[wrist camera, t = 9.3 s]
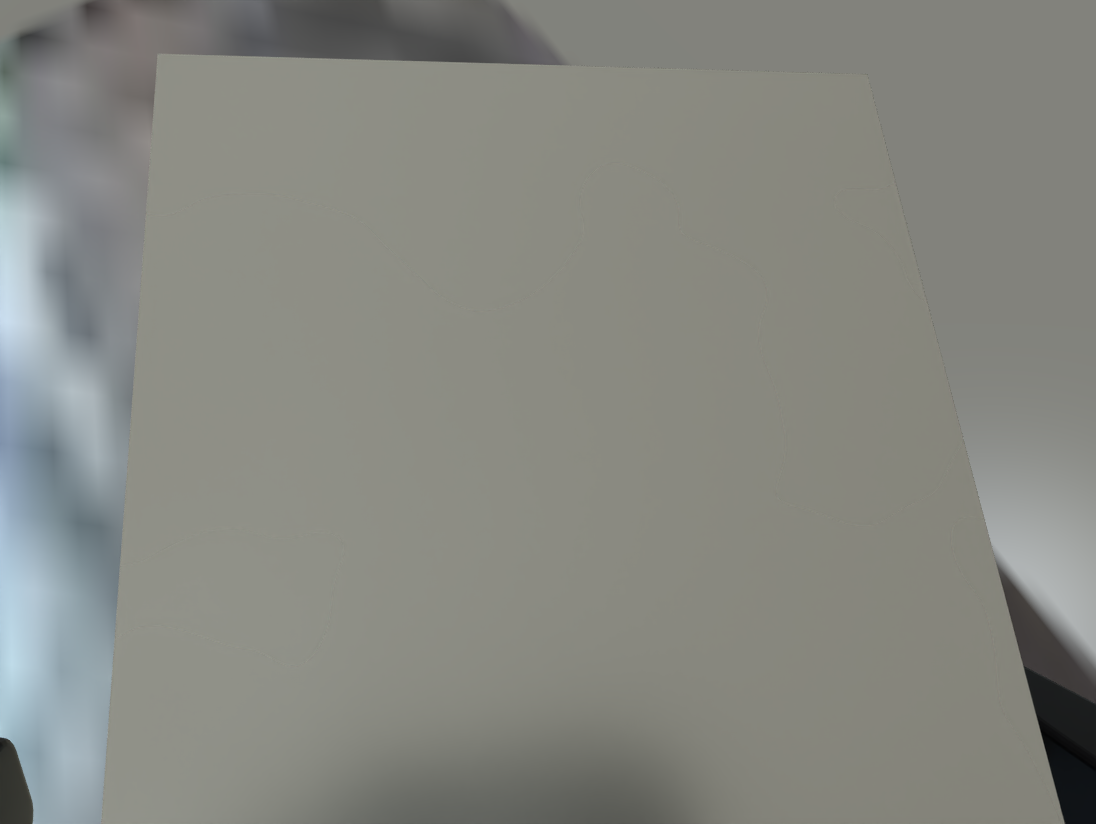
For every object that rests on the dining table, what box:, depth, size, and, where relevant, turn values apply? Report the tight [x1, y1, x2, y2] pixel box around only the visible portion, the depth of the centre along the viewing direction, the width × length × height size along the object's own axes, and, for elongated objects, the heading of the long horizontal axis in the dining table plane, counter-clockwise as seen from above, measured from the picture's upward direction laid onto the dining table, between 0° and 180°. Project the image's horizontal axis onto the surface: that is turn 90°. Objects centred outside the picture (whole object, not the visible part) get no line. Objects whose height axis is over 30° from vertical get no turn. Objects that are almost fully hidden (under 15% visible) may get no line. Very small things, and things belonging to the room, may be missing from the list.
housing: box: [101, 54, 1065, 824], centre depth 11 cm, size 6×5×12 cm
